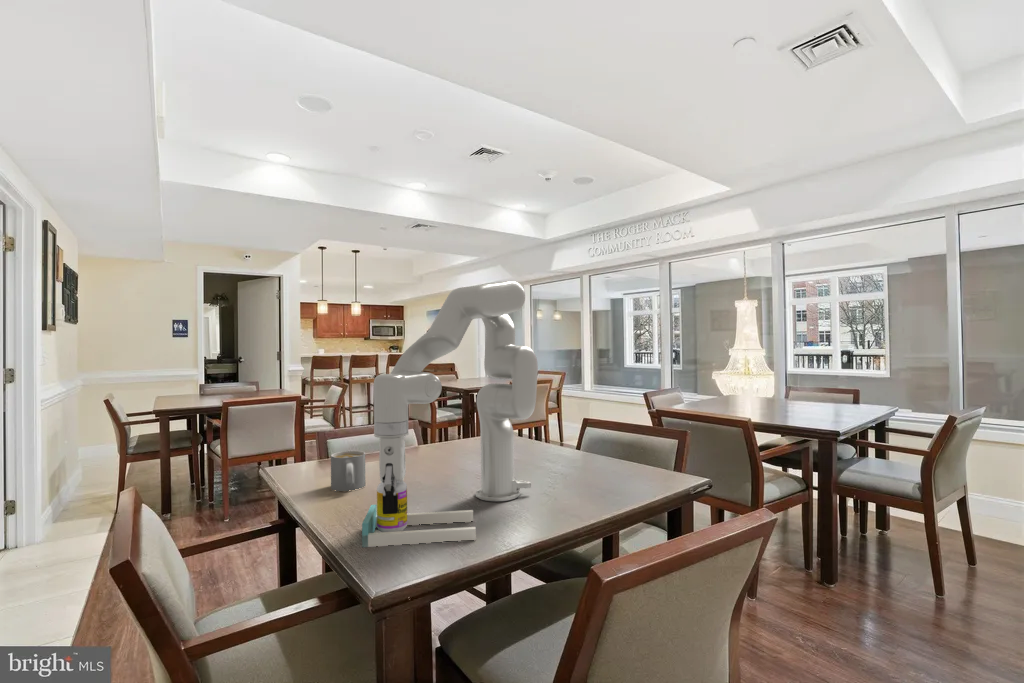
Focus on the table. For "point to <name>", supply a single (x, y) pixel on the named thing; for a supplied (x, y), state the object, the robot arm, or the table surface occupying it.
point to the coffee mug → (347, 470)
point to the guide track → (418, 535)
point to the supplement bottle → (392, 520)
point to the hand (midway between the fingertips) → (392, 507)
